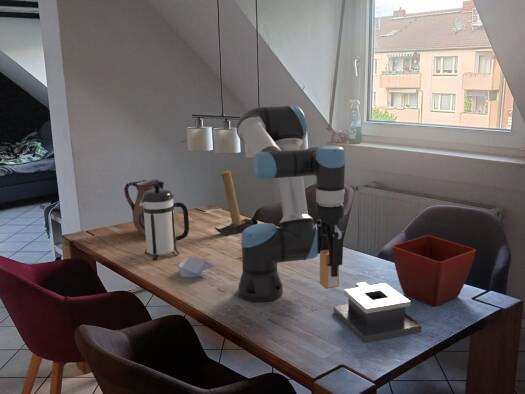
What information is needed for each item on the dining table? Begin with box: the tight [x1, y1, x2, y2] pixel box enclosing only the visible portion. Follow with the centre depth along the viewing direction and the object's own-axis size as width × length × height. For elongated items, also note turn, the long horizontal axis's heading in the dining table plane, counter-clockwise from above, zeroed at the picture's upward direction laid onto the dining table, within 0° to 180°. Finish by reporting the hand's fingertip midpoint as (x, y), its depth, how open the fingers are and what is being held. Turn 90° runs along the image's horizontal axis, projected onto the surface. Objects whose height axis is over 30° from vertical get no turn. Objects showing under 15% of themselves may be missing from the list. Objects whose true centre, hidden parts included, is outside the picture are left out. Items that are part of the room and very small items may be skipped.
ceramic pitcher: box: [123, 178, 165, 236], centre depth 245 cm, size 18×21×25 cm
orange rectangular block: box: [319, 249, 340, 290], centre depth 148 cm, size 4×4×10 cm
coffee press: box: [139, 184, 190, 261], centre depth 216 cm, size 17×16×30 cm
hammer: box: [214, 170, 259, 237], centre depth 242 cm, size 20×5×30 cm, turn 120°
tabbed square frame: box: [333, 281, 422, 343], centre depth 156 cm, size 18×20×8 cm
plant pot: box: [391, 235, 477, 307], centre depth 171 cm, size 19×19×17 cm
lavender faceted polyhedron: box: [178, 255, 215, 278], centre depth 196 cm, size 9×7×13 cm
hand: (329, 282), depth 149 cm, fingers closed on orange rectangular block, 4 cm apart
